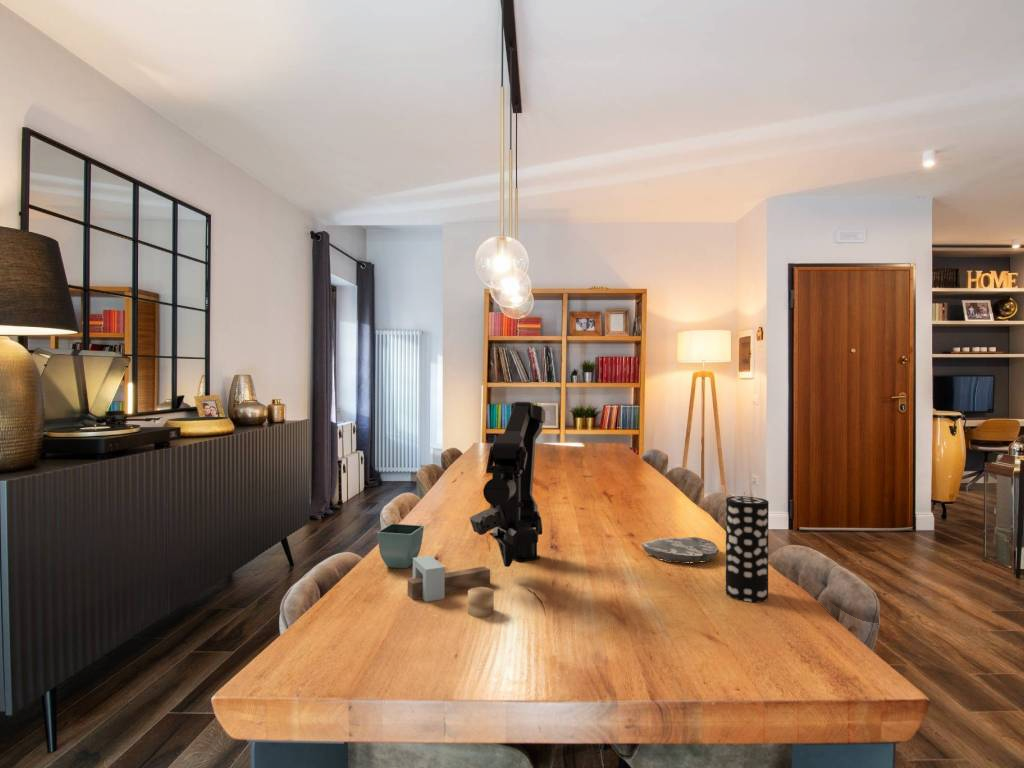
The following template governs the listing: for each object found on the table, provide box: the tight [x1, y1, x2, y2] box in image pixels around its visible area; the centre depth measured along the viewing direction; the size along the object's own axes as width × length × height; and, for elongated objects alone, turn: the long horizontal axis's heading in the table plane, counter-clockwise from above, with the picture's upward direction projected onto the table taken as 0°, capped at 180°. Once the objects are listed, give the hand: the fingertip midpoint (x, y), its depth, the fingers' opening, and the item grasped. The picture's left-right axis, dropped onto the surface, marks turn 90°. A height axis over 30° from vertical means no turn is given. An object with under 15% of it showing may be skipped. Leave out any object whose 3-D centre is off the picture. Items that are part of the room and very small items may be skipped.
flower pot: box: [376, 523, 425, 569], centre depth 141 cm, size 9×9×9 cm
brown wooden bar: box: [407, 566, 491, 601], centre depth 124 cm, size 18×3×4 cm, turn 120°
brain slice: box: [641, 536, 720, 564], centre depth 149 cm, size 20×17×3 cm
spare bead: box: [467, 586, 495, 618], centre depth 112 cm, size 5×5×4 cm
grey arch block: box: [412, 555, 446, 602], centre depth 122 cm, size 4×9×6 cm, turn 27°
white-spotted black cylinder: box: [725, 495, 769, 603], centre depth 122 cm, size 8×8×20 cm
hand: (507, 566), depth 130 cm, fingers closed
